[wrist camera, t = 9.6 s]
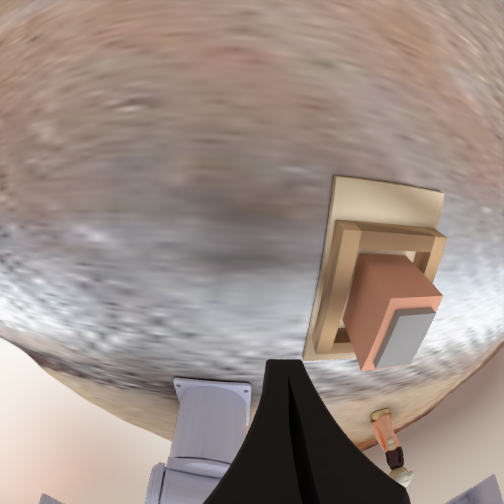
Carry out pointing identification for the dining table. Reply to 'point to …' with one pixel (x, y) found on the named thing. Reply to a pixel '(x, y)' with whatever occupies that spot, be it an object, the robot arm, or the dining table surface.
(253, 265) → the dining table surface
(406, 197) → the frame
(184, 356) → the dining table surface
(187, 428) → the robot arm
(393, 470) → the grandmother figurine
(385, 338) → the salmon block
